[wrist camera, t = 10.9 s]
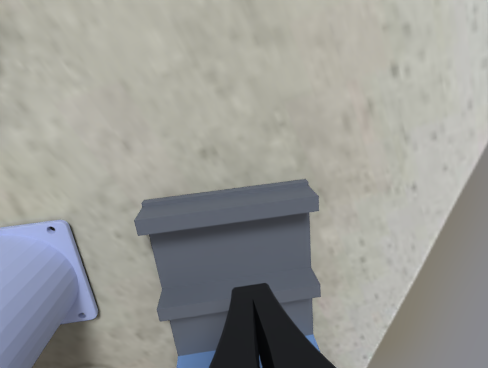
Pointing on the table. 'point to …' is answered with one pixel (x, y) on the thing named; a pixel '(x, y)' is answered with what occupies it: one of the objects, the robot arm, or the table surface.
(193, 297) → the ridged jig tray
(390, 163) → the table surface
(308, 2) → the table surface
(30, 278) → the robot arm
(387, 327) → the table surface
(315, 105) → the table surface
